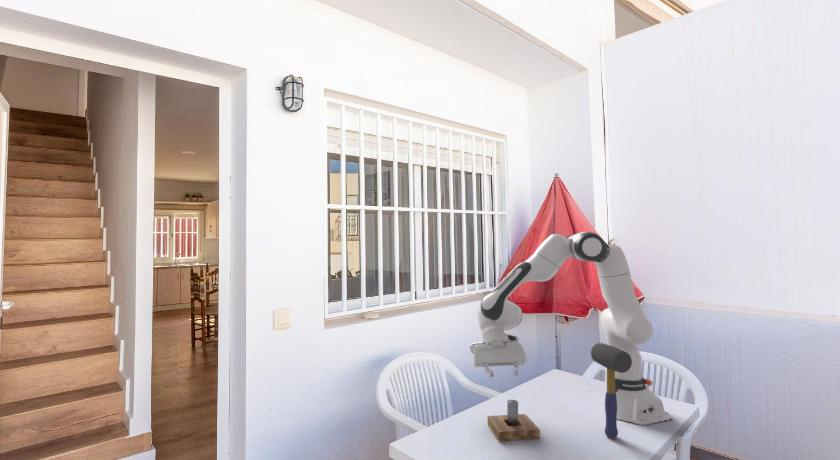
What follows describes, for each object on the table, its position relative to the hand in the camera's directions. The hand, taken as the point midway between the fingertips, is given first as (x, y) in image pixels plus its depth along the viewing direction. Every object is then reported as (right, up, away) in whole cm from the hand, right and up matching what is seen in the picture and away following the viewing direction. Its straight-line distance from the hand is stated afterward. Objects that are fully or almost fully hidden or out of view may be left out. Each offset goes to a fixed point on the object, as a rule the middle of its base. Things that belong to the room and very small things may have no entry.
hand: (504, 375), depth 148 cm
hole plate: (+1, -16, -9) cm, 18 cm away
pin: (+1, -16, -9) cm, 18 cm away
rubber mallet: (+33, -16, -13) cm, 39 cm away
